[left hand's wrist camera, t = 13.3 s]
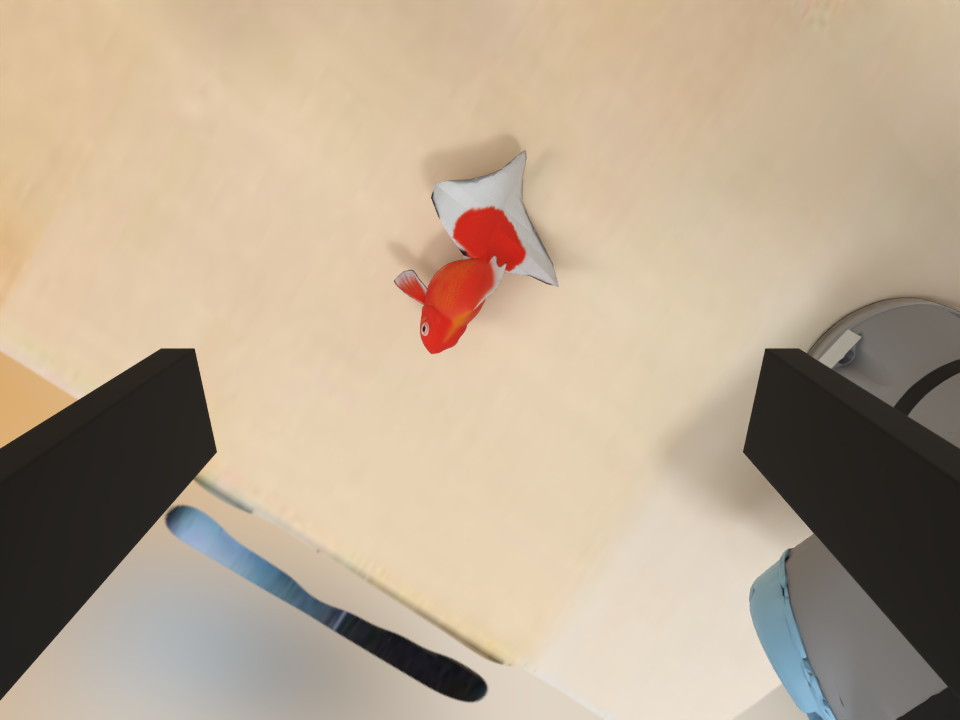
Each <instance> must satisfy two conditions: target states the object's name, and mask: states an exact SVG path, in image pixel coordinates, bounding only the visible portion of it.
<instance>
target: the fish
mask: <svg viewBox="0 0 960 720" xmlns="http://www.w3.org/2000/svg"><path fill="white" fill-rule="evenodd" d="M526 158H527V157H526V151H523V152H522V153H520V154H519V155H518V156H517V157H516V158H514V159H513V160H512V161H511V162H509V163H508V164H507V165H506V166H505V167H504V168H503V169H501V170H498V171H496V172H494V173H492V174H489V175H487V176H482V177H478V178H474V179H469V180H449V181H445V182H440V183H436V184H435V186H434V190H433V193H432V197H431V199H432V201H433V204H434V206H435V209H436V212H437V214H438V217H439V219H440V221H441V222H442V224H443V226H444V228H445V230H446V231H447V233H448V234H449V236H450V237H451V239H452V240H453V241H454V243H455V244H456V245H457V247H458V248H459V250H460V251H461V252H462V254H463V260H458V261H454V262H451V263H449V264H447V265H445V266H444V267H442V268H441V269H440V270H439V271H437V273H436V274H435V275H434V276H433V278H432V280H431V281H430V283H429V286H428V288H426V286H425V285H424V284H423V283H422V282H421V280H420V279H419V278H418V276H417V275H416V273H415V272H414V271H413V270H408V271H404V272H402V273H401V274H400V275H399V276H398V277H397V278H396V279H395V280H394V282H395V284H396V285H397V287H399V288H400V289H401V290H402V291H403V292H404V293H406V294H407V295H408V296H410V297H412V298H413V299H415V300H417V301H418V302H420V303H422V304H423V305H424V306H423V307H422V316H421V323H420V334H421V339H422V341H423V344H424V345H425V347H426V349H427V350H428V351H429V352H430V353H431V354H436V353H440V352H442V351H443V350H445V349H448V348H451V347H453V346H455V345H456V344H457V342H458V340H459V338H460V337H461V336H462V334H463V333H464V332H465V330H466V327H467V324H468V323H469V322H470V321H471V320H472V319H473V318H474V317H475V316H476V315H477V314H478V312H479V311H480V309H481V307H482V306H483V304H484V302H485V299H486V298H487V297H488V296H489V295H490V294H491V293H493V292H494V291H495V290H496V288H497V286H498V284H499V282H500V280H501V278H502V275H503V273H513V274H518V275H528V276H531V277H533V278H535V279H538V280H540V281H542V282H544V283H546V284H549V285H553V286H557V287H559V286H558V282H557V278H556V274H555V270H554V266H553V263H552V261H551V259H550V257H549V256H548V254H547V252H546V250H545V248H544V246H543V244H542V242H541V240H540V238H539V236H538V234H537V232H536V231H535V229H534V227H533V225H532V223H531V221H530V219H529V217H528V215H527V212H526V210H525V208H524V205H523V203H522V184H523V173H524V168H525V164H526Z"/></svg>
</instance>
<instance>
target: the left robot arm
mask: <svg viewBox="0 0 960 720" xmlns="http://www.w3.org/2000/svg"><path fill="white" fill-rule="evenodd" d="M216 453H217V450H216V446H215V441H214V436H213V432H212V427H211V422H210V418H209V413H208V408H207V404H206V399H205V395H204V390H203V385H202V381H201V376H200V371H199V367H198V362H197V357H196V353H195V349H160V350H158V351H157V352H155V353H153V354H152V355H150V356H148V357H147V358H145V359H144V360H142V361H140V362H139V363H137V364H136V365H134V366H132V367H131V368H129V369H128V370H126V371H124V372H123V373H121V374H119V375H118V376H116V377H115V378H113V379H111V380H110V381H108V382H107V383H105V384H103V385H102V386H100V387H99V388H97V389H95V390H94V391H92V392H91V393H89V394H87V395H86V396H84V397H82V398H81V399H79V400H78V401H76V402H74V403H73V404H71V405H70V406H68V407H66V408H65V409H63V410H62V411H60V412H58V413H57V414H55V415H53V416H52V417H50V418H49V419H47V420H45V421H44V422H42V423H41V424H39V425H38V426H36V427H34V428H33V429H31V430H29V431H28V432H26V433H25V434H23V435H21V436H20V437H18V438H16V439H15V440H13V441H12V442H10V443H8V444H7V445H5V446H4V447H2V448H0V700H1V699H2V698H3V697H4V696H5V694H6V693H7V692H8V691H9V690H10V689H11V688H12V686H13V685H14V684H15V683H16V682H17V681H18V679H19V678H20V677H21V676H22V675H23V674H24V673H25V671H26V670H27V669H28V668H29V667H30V666H31V665H32V663H33V662H34V661H35V660H36V659H37V658H38V657H39V655H40V654H41V653H42V652H43V651H44V650H45V649H46V647H47V646H48V645H49V644H50V643H51V642H52V641H53V639H54V638H55V637H56V636H57V635H58V634H59V632H60V631H61V630H62V629H63V628H64V627H65V626H66V624H67V623H68V622H69V621H70V620H71V619H72V618H73V616H74V615H75V614H76V613H77V612H78V611H79V610H80V608H81V607H82V606H83V605H84V604H85V603H86V602H87V600H88V599H89V598H90V597H91V596H92V595H93V593H94V592H95V591H96V590H97V589H98V588H99V587H100V585H101V584H102V583H103V582H104V581H105V580H106V579H107V577H108V576H109V575H110V574H111V573H112V572H113V571H114V569H115V568H116V567H117V566H118V565H119V564H120V563H121V561H122V560H123V559H124V558H125V557H126V556H127V555H128V553H129V552H130V551H131V550H132V549H133V548H134V546H135V545H136V544H137V543H138V542H139V541H140V540H141V538H142V537H143V536H144V535H145V534H146V533H147V532H148V530H149V529H150V528H151V527H152V526H153V525H154V524H155V522H156V521H157V520H158V519H159V518H160V517H161V516H162V514H163V513H164V512H165V511H166V510H167V509H168V508H169V506H170V505H171V504H172V503H173V502H174V501H175V500H176V498H177V497H178V496H179V495H180V494H181V493H182V491H183V490H184V489H185V488H186V487H187V486H188V485H189V483H190V482H191V481H192V480H193V479H194V478H195V477H196V475H197V474H198V473H199V472H200V471H201V470H202V469H203V467H204V466H205V465H206V464H207V463H208V462H209V461H210V459H211V458H212V457H213V456H214V455H215V454H216ZM743 453H744V454H745V455H746V456H747V457H748V458H749V459H750V461H751V462H752V463H753V464H754V465H755V466H756V467H757V469H758V470H759V471H760V472H761V473H762V474H763V475H764V477H765V478H766V479H767V480H768V481H769V482H770V483H771V485H772V486H773V487H774V488H775V489H776V490H777V492H778V493H779V494H780V495H781V496H782V497H783V498H784V500H785V501H786V502H787V503H788V504H789V505H790V506H791V508H792V509H793V510H794V511H795V512H796V513H797V514H798V516H799V517H800V518H801V519H802V520H803V521H804V522H805V524H806V525H807V526H808V527H809V528H810V529H811V530H812V532H813V533H814V534H813V535H811V536H810V537H809V538H807V539H806V540H804V541H803V542H802V543H800V544H799V545H797V546H796V547H795V548H792V549H788V550H786V551H785V552H784V553H783V554H782V556H781V558H780V560H779V561H778V562H776V563H775V564H774V565H773V566H771V567H770V568H769V569H768V570H766V571H765V572H764V573H763V574H762V575H760V576H759V577H758V578H757V579H756V580H755V581H754V583H753V585H752V587H751V589H750V596H749V602H750V613H751V617H752V621H753V624H754V627H755V630H756V632H757V635H758V637H759V640H760V642H761V644H762V647H763V649H764V651H765V653H766V655H767V657H768V659H769V661H770V663H771V664H772V666H773V668H774V670H775V672H776V673H777V675H778V677H779V678H780V680H781V682H782V684H783V685H784V687H785V689H786V690H787V692H788V693H789V695H790V696H791V698H792V699H793V701H794V702H795V704H796V705H797V707H798V708H799V709H800V710H801V711H802V712H804V713H806V714H807V716H808V718H809V720H960V312H959V311H957V310H954V309H952V308H949V307H946V306H943V305H940V304H937V303H934V302H931V301H928V300H923V299H917V298H897V299H890V300H885V301H881V302H877V303H874V304H871V305H868V306H866V307H863V308H861V309H859V310H857V311H855V312H853V313H851V314H849V315H848V316H846V317H845V318H843V319H842V320H840V321H839V322H837V323H836V324H835V325H834V326H832V327H831V328H830V329H829V330H828V331H827V332H826V333H824V335H823V336H822V337H821V338H820V339H819V340H818V341H817V342H816V344H815V345H814V346H813V347H812V349H811V350H810V352H809V353H808V354H807V353H805V352H803V351H802V350H800V349H765V353H764V357H763V362H762V367H761V371H760V376H759V381H758V385H757V390H756V395H755V399H754V404H753V408H752V413H751V418H750V422H749V427H748V432H747V436H746V441H745V446H744V450H743Z"/></svg>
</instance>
